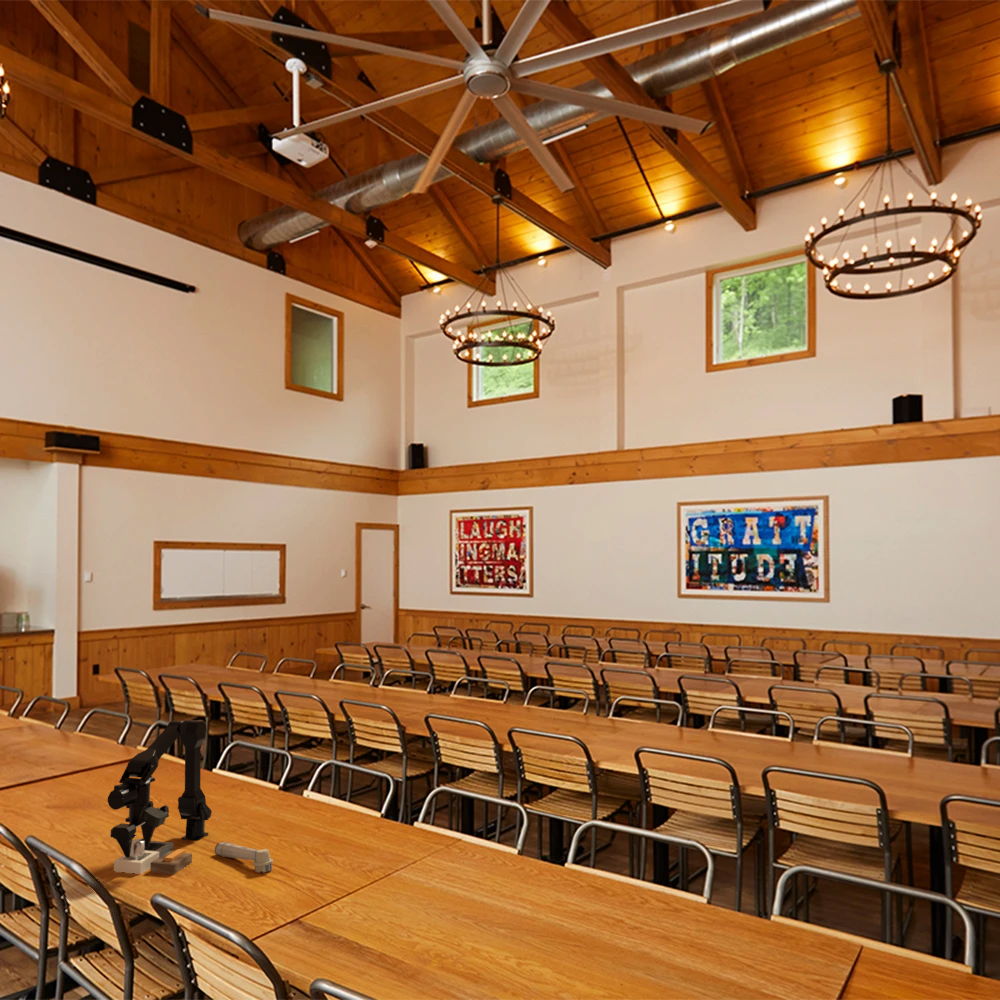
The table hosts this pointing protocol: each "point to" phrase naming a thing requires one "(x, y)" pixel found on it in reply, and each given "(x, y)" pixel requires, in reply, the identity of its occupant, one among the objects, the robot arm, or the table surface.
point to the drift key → (174, 855)
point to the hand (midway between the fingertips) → (137, 851)
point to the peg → (137, 849)
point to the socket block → (159, 847)
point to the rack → (135, 863)
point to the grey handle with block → (246, 855)
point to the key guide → (170, 864)
